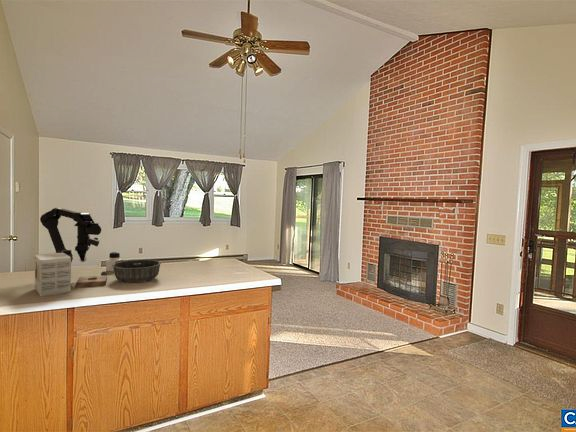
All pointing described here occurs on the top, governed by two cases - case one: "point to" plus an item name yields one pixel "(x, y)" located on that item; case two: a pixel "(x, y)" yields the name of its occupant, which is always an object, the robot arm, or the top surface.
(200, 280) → the top surface
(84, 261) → the steel ball
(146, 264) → the bundt pan
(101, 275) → the dark gray rubber ball
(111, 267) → the medicine bottle
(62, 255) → the supplement box
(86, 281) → the walnut board
